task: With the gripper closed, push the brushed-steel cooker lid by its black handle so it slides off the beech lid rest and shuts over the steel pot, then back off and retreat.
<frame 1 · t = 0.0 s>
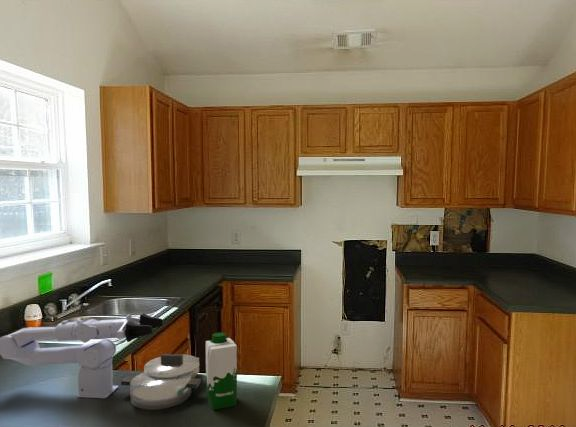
hand: (157, 325, 131), 22 cm above the counter, tool horizontal, fingers open, 7 cm apart
cooker lid: (172, 361, 141), point 7 cm above the counter, slide at 9.0 cm
milk carton: (221, 403, 127), on the counter
cooker pot: (161, 395, 132), on the counter
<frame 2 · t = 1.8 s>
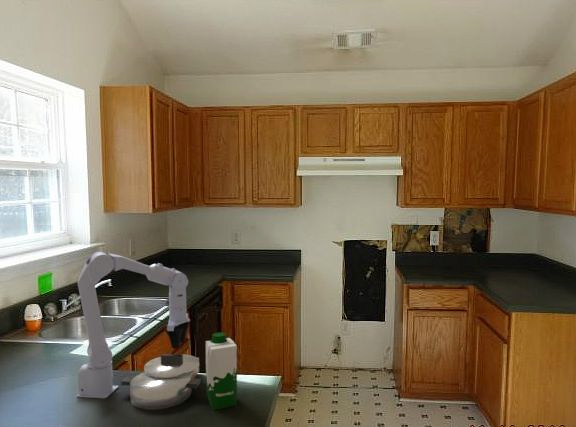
hand: (178, 345, 147), 10 cm above the counter, tool pointing down, fingers open, 5 cm apart
nothing on the counter moved.
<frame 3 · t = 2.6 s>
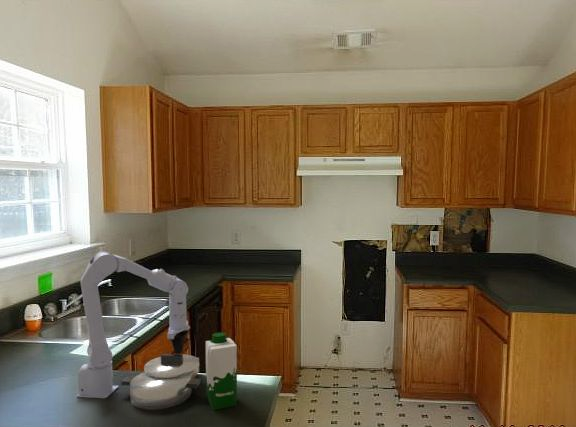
hand: (178, 353, 147), 8 cm above the counter, tool pointing down, fingers closed
nothing on the counter moved.
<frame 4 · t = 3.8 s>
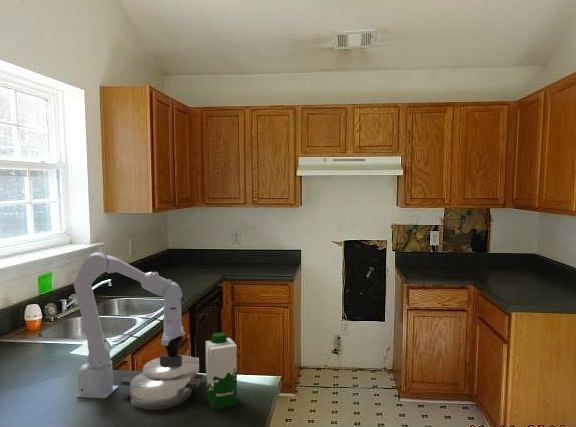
hand: (173, 359, 142), 7 cm above the counter, tool pointing down, fingers closed
cooker lid: (171, 361, 140), point 7 cm above the counter, slide at 8.2 cm, touching gripper
everything else where it was.
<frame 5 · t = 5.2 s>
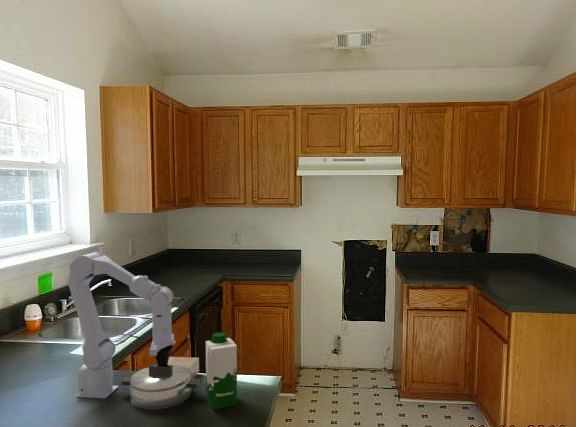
hand: (162, 370, 133), 7 cm above the counter, tool pointing down, fingers closed
cooker lid: (160, 372, 132), point 7 cm above the counter, slide at -0.1 cm, touching gripper
everything else where it was.
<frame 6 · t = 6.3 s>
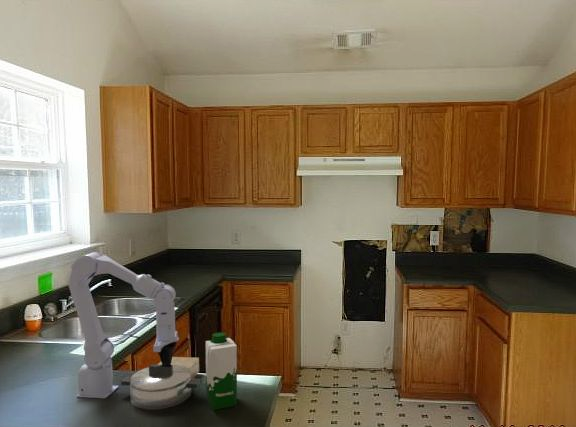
hand: (166, 366, 136), 7 cm above the counter, tool pointing down, fingers closed
cooker lid: (160, 372, 132), point 7 cm above the counter, slide at 0.0 cm
everything else where it was.
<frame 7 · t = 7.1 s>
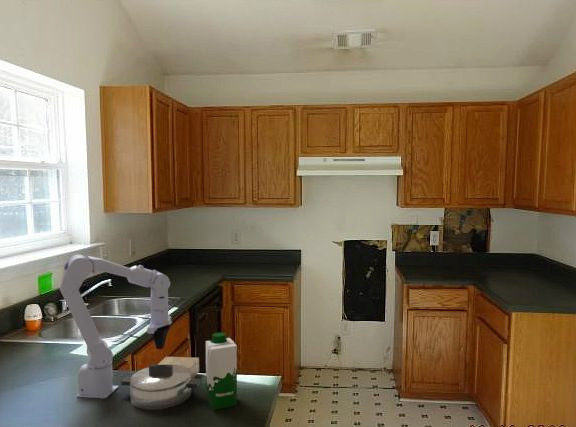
hand: (160, 348, 144), 10 cm above the counter, tool pointing down, fingers closed
nothing on the counter moved.
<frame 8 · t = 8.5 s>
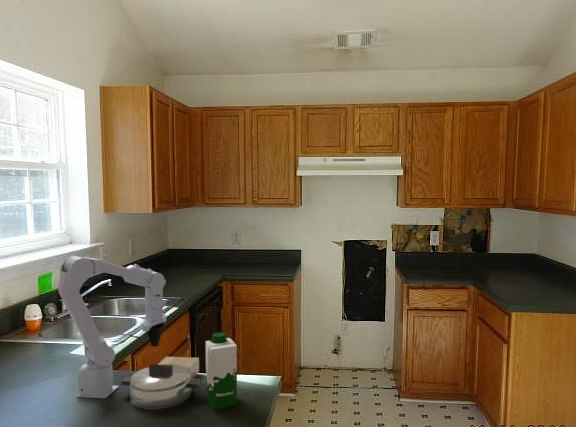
hand: (154, 345, 146), 10 cm above the counter, tool pointing down, fingers closed
nothing on the counter moved.
at the end: cooker lid slide at 0.0 cm; milk carton moved 0.2 cm from its start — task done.
